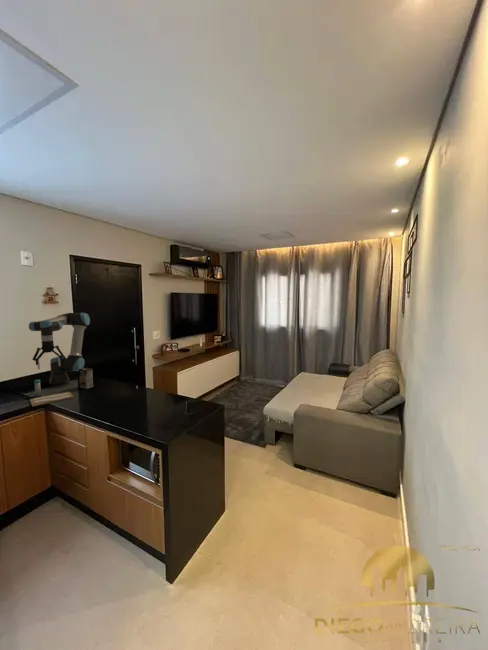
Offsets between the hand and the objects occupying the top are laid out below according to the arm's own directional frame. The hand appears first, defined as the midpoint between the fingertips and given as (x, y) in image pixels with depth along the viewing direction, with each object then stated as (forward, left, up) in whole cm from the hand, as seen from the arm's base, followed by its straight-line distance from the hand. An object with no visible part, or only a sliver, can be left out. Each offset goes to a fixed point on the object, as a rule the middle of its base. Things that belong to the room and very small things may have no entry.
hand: (49, 367), depth 223 cm
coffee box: (-5, +26, -23) cm, 35 cm away
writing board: (+9, -1, -23) cm, 25 cm away
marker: (-5, -8, -23) cm, 25 cm away
